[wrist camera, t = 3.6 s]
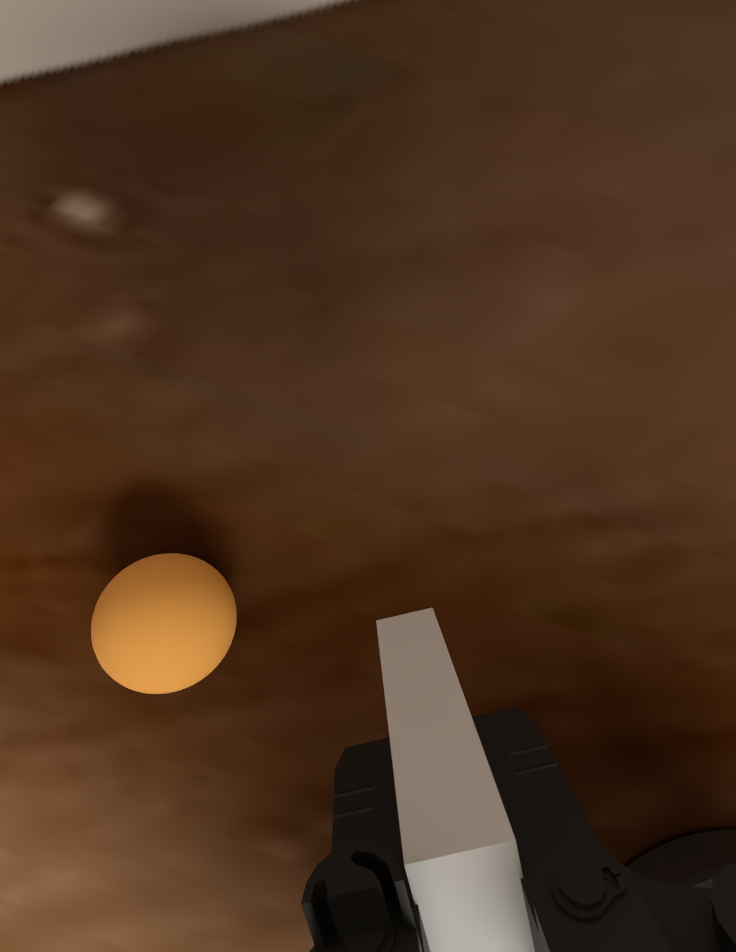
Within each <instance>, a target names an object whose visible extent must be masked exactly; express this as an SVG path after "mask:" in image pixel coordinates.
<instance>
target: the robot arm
mask: <svg viewBox="0 0 736 952" xmlns="http://www.w3.org/2000/svg"><path fill="white" fill-rule="evenodd" d="M376 624H377V632H378V641H379V650H380V659H381V667H382V676H383V685H384V694H385V702H386V711H387V720H388V728H389V738H385V739H381V740H376V741H372V742H368V743H363V744H359V745H354V746H350V747H346V748H345V749H344V752H343V754H342V756H341V758H340V760H339V762H338V764H337V766H336V768H335V776H334V798H335V799H334V807H333V815H334V819H333V838H332V853H331V854H330V855H328V856H327V857H326V858H325V859H324V860H323V861H321V862H320V863H319V864H318V865H317V867H316V868H315V870H314V872H313V873H312V875H311V876H310V878H309V880H308V881H307V883H306V887H305V891H304V895H303V898H302V902H301V904H302V907H303V910H304V913H305V916H306V920H307V923H308V926H309V929H310V932H311V935H312V938H313V941H314V944H315V945H314V947H313V948H312V949H311V950H310V952H736V829H726V830H714V831H706V832H701V833H696V834H692V835H688V836H685V837H682V838H679V839H676V840H673V841H671V842H668V843H665V844H663V845H661V846H659V847H657V848H655V849H653V850H651V851H649V852H647V853H646V854H644V855H642V856H641V857H639V858H638V859H636V860H635V861H633V862H632V863H631V864H629V865H628V866H627V867H625V866H624V865H622V864H621V863H619V862H618V861H617V860H616V859H615V858H614V857H613V856H612V855H611V854H610V853H609V852H608V851H607V850H606V849H605V847H604V846H603V844H602V843H601V842H600V840H599V839H598V837H597V835H596V833H595V832H594V830H593V828H592V826H591V824H590V822H589V820H588V818H587V817H586V815H585V813H584V811H583V809H582V807H581V805H580V804H579V802H578V800H577V798H576V796H575V794H574V792H573V790H572V789H571V787H570V785H569V783H568V781H567V779H566V777H565V776H564V774H563V772H562V770H561V768H560V766H558V764H557V761H556V759H555V757H554V755H553V753H552V751H551V749H550V748H549V747H548V744H547V742H546V740H545V738H544V736H543V734H542V733H541V731H540V729H539V727H538V725H537V723H536V722H535V721H534V720H533V719H531V718H530V717H529V716H528V715H526V714H525V713H524V712H522V711H521V710H520V709H519V708H517V707H513V708H508V709H504V710H499V711H495V712H491V713H486V714H482V715H478V716H473V717H472V716H471V714H470V711H469V708H468V705H467V703H466V700H465V697H464V694H463V691H462V689H461V686H460V683H459V680H458V677H457V675H456V672H455V669H454V666H453V663H452V661H451V658H450V655H449V652H448V649H447V647H446V644H445V641H444V638H443V635H442V633H441V630H440V627H439V624H438V622H437V619H436V616H435V613H434V610H433V608H429V609H424V610H420V611H415V612H411V613H407V614H402V615H398V616H394V617H389V618H385V619H381V620H376Z"/></svg>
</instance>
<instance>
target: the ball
mask: <svg viewBox="0 0 736 952" xmlns="http://www.w3.org/2000/svg"><path fill="white" fill-rule="evenodd" d="M236 620H237V611H236V604H235V599H234V596H233V593H232V591H231V588H230V587H229V585H228V583H227V581H226V580H225V579H224V577H223V576H222V575H221V574H220V573H219V572H218V571H217V570H216V569H215V568H214V567H212V566H211V565H210V564H208V563H206V562H205V561H203V560H201V559H199V558H196V557H193V556H190V555H185V554H178V553H165V554H157V555H153V556H149V557H146V558H143V559H141V560H139V561H136V562H134V563H133V564H131V565H129V566H128V567H126V568H125V569H123V570H122V571H121V572H120V573H118V574H117V575H116V576H115V577H114V578H113V579H112V580H111V581H110V583H109V584H108V585H107V586H106V588H105V589H104V591H103V592H102V594H101V595H100V597H99V599H98V601H97V604H96V606H95V610H94V613H93V616H92V623H91V639H92V645H93V649H94V652H95V655H96V657H97V659H98V661H99V663H100V665H101V666H102V668H103V669H104V670H105V671H106V673H107V674H108V675H109V676H110V677H111V678H112V679H114V680H115V681H116V682H118V683H119V684H121V685H123V686H124V687H127V688H129V689H131V690H134V691H137V692H141V693H147V694H165V693H171V692H176V691H179V690H182V689H185V688H187V687H189V686H192V685H194V684H195V683H197V682H199V681H200V680H202V679H203V678H205V677H206V676H207V675H208V674H210V673H211V672H212V671H213V670H214V669H215V668H216V667H217V665H218V664H219V663H220V662H221V661H222V659H223V658H224V656H225V655H226V653H227V651H228V649H229V647H230V645H231V643H232V640H233V637H234V634H235V629H236Z"/></svg>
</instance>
